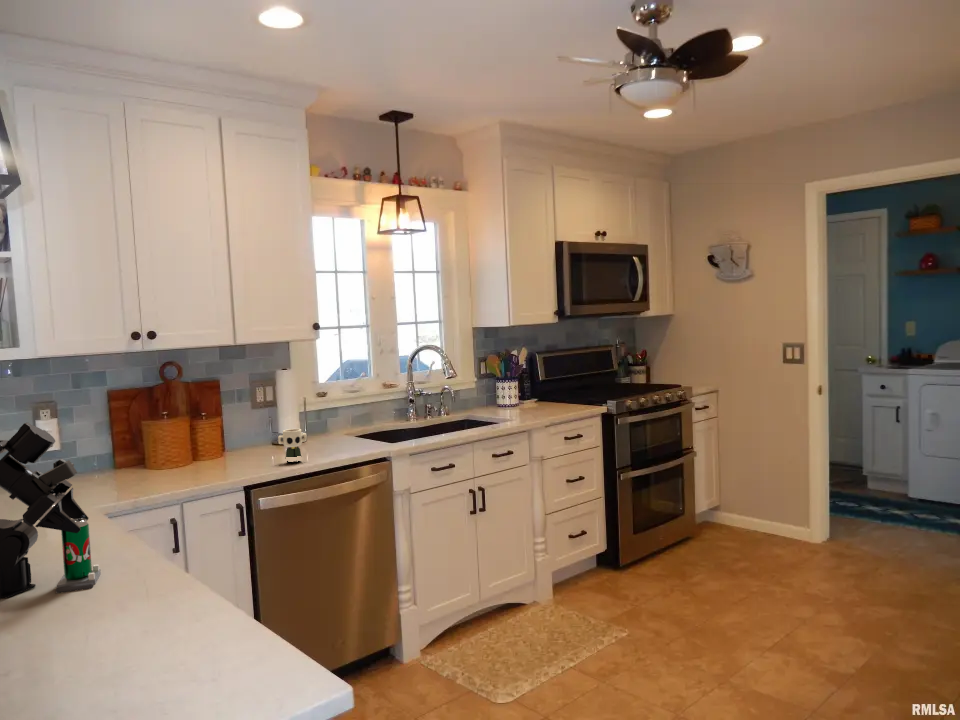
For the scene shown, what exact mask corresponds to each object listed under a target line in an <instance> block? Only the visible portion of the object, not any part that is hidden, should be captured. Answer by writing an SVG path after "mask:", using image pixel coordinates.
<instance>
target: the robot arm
mask: <svg viewBox="0 0 960 720" xmlns="http://www.w3.org/2000/svg"><path fill="white" fill-rule="evenodd" d="M55 443H56V439H55V438H54V436H52V435H51V434H50V433H49V432H48V431H46V430H45V429H42V428H40V427H38V426H35V425H33V424H31V423H30V422H24V423H23V424H22V425H21V426H20V427H19V428H18V430H17V432H16V433H14V435H12V437H11V438H9V440H7V439H5V440H2V439H0V455H1V454H3V453H6V452H7V453H6V454H4V456H2V458H1V459H0V489H2V490H3V491H5V492H7V493H8V494H9V496H8V498H9V499H11V500H12V501H13V500H15V499H17V500H18V501H20V502H21V503H23V504H24V505H25V506H27V508H26V511H25V512H24V513H23V514H22V518H20V519H16V520H14V519H13V520H12V519H6V518H0V598H3V599H5V598H6V599H8V598H10V597H13V596H15V595H19V594H20V593H24V592H26V591H28V590H31V589H34V588H36V583H32V571H31V564H30V563H29V557H27V555H28V554H29V550H30V548H32V547H33V546H34V545H35V544H36V542H37V541H38V537H39V534H38V533H39V532H38V529H37V528H45V529H51V530H57V531H60V532H61V531H67V532H72V533H78V532H79V531H80V530H81V528H80V527H79V526H78V525H77V524H76V523H75V522H74V521H73V520H72V519H78V518H84V519H86V521H87V522H88V520H89V516H88V515H87V514H86V513H85V511H84V510H83V508H81V506H80V505H79V503H77V501H76V500H75V499H74V487H73V484H72V483H71V482H69V481H68V480H69V479H71V478H72V477H75V475H76V474H78V471H77V470H76V468H75V464H74V463H73V462H71V460H69V459H68V460H65V459H63V458H59V459H58V460H56V461H55V462H53V464H52V465H53V468H51V469H49V470H48V471H45V472H44V473H43V472H41V471H40V470H35V471H33V470H31V469H30V468H28V467H26V466H25V465H28V464H29V463H30V464H35V463H37V461H38V460H39V459H41V457H43V455H44V454H46V452H47V451H48V450H49V449H50V448H51V447H52V446H53V445H55ZM71 487H72V488H71ZM70 488H71V489H70ZM68 490H69V491H68ZM38 521H39V522H38ZM37 522H38V523H37ZM35 524H36V525H35ZM34 525H35V526H34Z"/></svg>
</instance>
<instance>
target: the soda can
mask: <svg viewBox="0 0 960 720" xmlns="http://www.w3.org/2000/svg"><path fill="white" fill-rule="evenodd" d="M71 519H72V518H71ZM72 520H73V521H74V522H75V523H76V524H77V525H78V526H79V527H80V528H81V530H80V531H79V532H78V533H72V532H67V531H61V530H60V532H61V544H62V545H61V548H62V560H63V573H64V574H63V575H64V577H65V578H66V579H67V580H80V579H83V578H86V577H88V574H89V573H92V570H93V566H92V554H91V553H92V551H91V539H90V538H91V537H90V526H89V525H90V524H89V522H88V520H87V521H86V519H84V518H78V519H72Z"/></svg>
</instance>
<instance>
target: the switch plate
mask: <svg viewBox="0 0 960 720" xmlns="http://www.w3.org/2000/svg"><path fill="white" fill-rule="evenodd" d="M101 573H102V572H101V569H100V564H93V566H92V573H89V574H88V577H86V578H83V579H80V580H67V579H66V578H65V577H64V574H63V575H62V576H61V578H60V579H59V581H58V582H57V584H56V588H58V587H65V586H72V585H79V584H85V583H93V586H94V585H96V584H97V582H98V581H99V577H100V576H101V575H102V574H101Z"/></svg>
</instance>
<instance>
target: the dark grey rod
mask: <svg viewBox="0 0 960 720" xmlns="http://www.w3.org/2000/svg"><path fill="white" fill-rule="evenodd" d="M93 587H94V585H93V583H85V584H79V585H72V586H65V587H58V588H57V587H56V589H55V594H62V593H61V592H63V593H68V592H67V591H70V592H76V591H75V590H77V591H81V590H82V589H83V590H89V588H90V589H93Z"/></svg>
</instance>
